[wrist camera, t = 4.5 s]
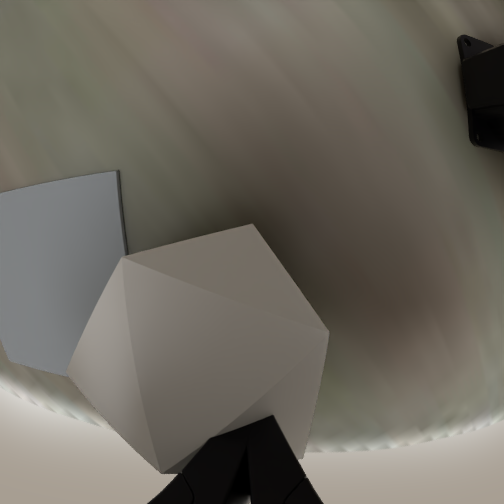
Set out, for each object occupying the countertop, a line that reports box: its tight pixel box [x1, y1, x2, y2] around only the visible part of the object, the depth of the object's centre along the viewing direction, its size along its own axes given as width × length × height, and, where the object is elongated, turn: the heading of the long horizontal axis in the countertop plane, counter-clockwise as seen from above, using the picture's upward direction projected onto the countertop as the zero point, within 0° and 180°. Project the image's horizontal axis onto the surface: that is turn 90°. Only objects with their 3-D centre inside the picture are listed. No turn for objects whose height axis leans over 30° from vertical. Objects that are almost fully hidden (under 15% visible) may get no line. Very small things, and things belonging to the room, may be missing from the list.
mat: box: [0, 170, 128, 377], centre depth 16 cm, size 14×13×1 cm
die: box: [66, 224, 330, 474], centre depth 10 cm, size 8×9×10 cm
